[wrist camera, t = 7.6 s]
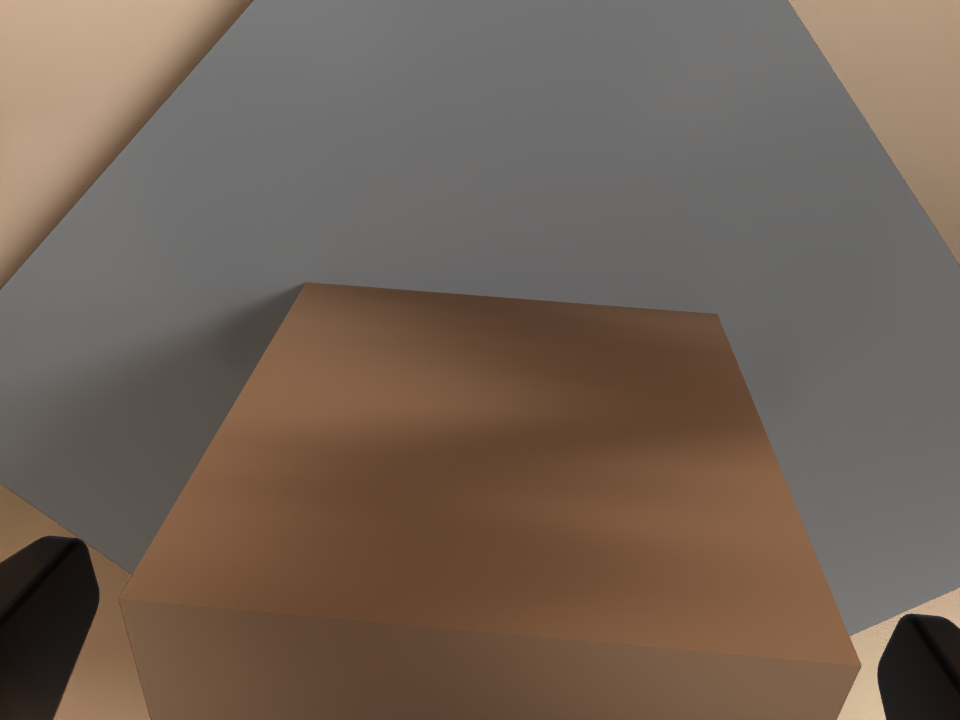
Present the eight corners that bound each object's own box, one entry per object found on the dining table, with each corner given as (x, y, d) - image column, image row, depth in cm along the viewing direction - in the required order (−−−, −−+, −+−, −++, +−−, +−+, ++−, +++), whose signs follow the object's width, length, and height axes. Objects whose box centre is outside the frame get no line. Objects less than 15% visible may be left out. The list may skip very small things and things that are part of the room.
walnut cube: (717, 314, 9) (861, 665, 5) (649, 602, 12) (708, 995, 8) (305, 282, 10) (118, 599, 5) (326, 573, 12) (210, 943, 8)
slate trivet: (1086, 477, 11) (1121, 515, 11) (469, 766, 16) (466, 805, 15) (559, -328, 7) (560, -350, 6) (-69, 380, 12) (-106, 410, 11)
